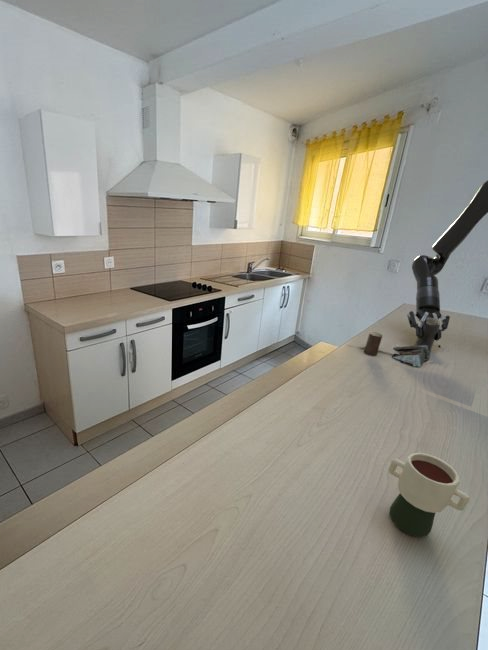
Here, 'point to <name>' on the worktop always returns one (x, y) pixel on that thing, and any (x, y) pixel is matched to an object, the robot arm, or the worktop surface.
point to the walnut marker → (373, 343)
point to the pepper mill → (428, 332)
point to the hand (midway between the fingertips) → (428, 338)
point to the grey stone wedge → (412, 354)
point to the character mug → (423, 492)
